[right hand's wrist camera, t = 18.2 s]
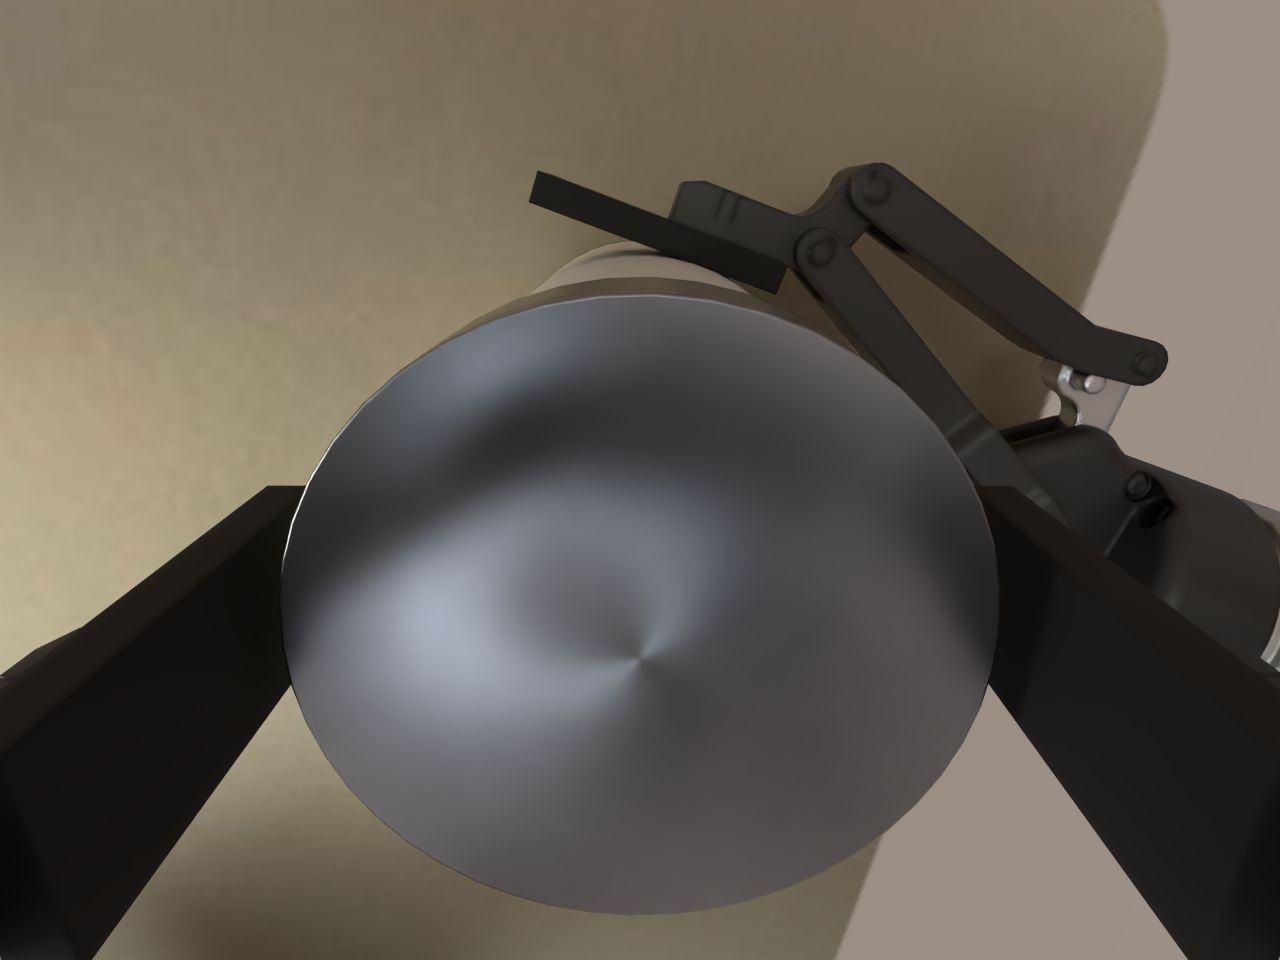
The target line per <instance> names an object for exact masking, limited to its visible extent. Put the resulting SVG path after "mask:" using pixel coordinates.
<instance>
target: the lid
mask: <svg viewBox="0 0 1280 960" xmlns="http://www.w3.org/2000/svg"><path fill="white" fill-rule="evenodd" d="M279 613H280V625H281V637H282V647H283V652H284V656H285V660H286V664H287V669H288V673H289V677H290V681H291V685H292V688H293V691H294V693H295V696H296V698H297V701H298V703H299V706H300V708H301V711H302V713H303V716H304V718H305V721H306V723H307V725H308V727H309V729H310V730H311V732H312V734H313V736H314V737H315V739H316V741H317V743H318V745H319V746H320V748H321V750H322V752H323V753H324V755H325V757H326V758H327V760H328V761H329V762H330V764H331V765H332V766H333V768H334V769H335V770H336V772H337V773H338V774H339V776H340V777H341V778H342V780H343V781H344V782H345V784H346V785H347V786H348V788H349V789H350V790H351V791H352V792H353V793H354V794H355V795H356V796H357V797H358V798H359V799H360V800H361V801H362V802H363V803H364V804H365V805H366V806H367V808H368V809H369V810H370V811H371V812H372V813H373V814H374V815H375V816H376V817H377V818H379V819H380V820H381V821H382V822H383V823H385V824H386V825H387V826H388V827H390V828H391V829H392V830H393V831H394V832H396V833H397V834H398V835H399V836H401V837H402V838H403V839H404V840H405V841H407V842H408V843H410V844H411V845H413V846H414V847H416V848H417V849H419V850H420V851H422V852H424V853H425V854H427V855H428V856H430V857H431V858H433V859H434V860H436V861H437V862H439V863H441V864H443V865H445V866H447V867H449V868H451V869H453V870H455V871H457V872H459V873H461V874H463V875H464V876H466V877H468V878H470V879H472V880H474V881H477V882H479V883H482V884H485V885H487V886H490V887H492V888H495V889H498V890H500V891H503V892H505V893H508V894H511V895H514V896H518V897H521V898H525V899H529V900H532V901H536V902H540V903H543V904H547V905H551V906H557V907H562V908H568V909H574V910H580V911H586V912H595V913H608V914H622V915H654V914H674V913H683V912H692V911H700V910H708V909H713V908H718V907H722V906H727V905H732V904H736V903H741V902H745V901H749V900H752V899H755V898H758V897H762V896H765V895H768V894H771V893H774V892H777V891H780V890H783V889H786V888H788V887H791V886H793V885H795V884H797V883H800V882H802V881H804V880H807V879H809V878H811V877H813V876H816V875H818V874H820V873H822V872H824V871H826V870H828V869H829V868H831V867H833V866H835V865H836V864H838V863H840V862H842V861H843V860H845V859H847V858H849V857H850V856H852V855H854V854H856V853H857V852H858V851H860V850H861V849H863V848H864V847H865V846H867V845H868V844H870V843H871V842H872V841H874V840H875V839H876V838H878V837H879V836H881V835H882V834H883V833H885V832H886V831H887V830H889V829H890V828H891V827H892V826H893V825H894V824H895V823H896V822H897V821H898V820H900V819H901V818H902V817H903V816H904V815H905V814H906V813H907V812H908V811H909V810H911V809H912V808H913V807H914V806H915V805H916V804H917V803H918V802H919V800H920V799H921V798H922V797H923V796H924V795H925V794H926V792H927V791H928V790H929V789H930V788H931V787H932V785H933V784H934V783H935V782H936V781H937V780H938V779H939V777H940V776H941V775H942V774H943V772H944V771H945V769H946V768H947V766H948V765H949V763H950V762H951V760H952V758H953V757H954V756H955V754H956V753H957V751H958V750H959V748H960V747H961V745H962V743H963V742H964V740H965V738H966V736H967V734H968V732H969V730H970V728H971V726H972V724H973V722H974V720H975V717H976V715H977V713H978V711H979V709H980V707H981V704H982V701H983V698H984V695H985V692H986V689H987V686H988V683H989V680H990V677H991V674H992V671H993V666H994V660H995V655H996V649H997V643H998V637H999V631H1000V580H999V573H998V566H997V559H996V552H995V545H994V541H993V538H992V535H991V531H990V528H989V525H988V522H987V518H986V515H985V512H984V508H983V505H982V502H981V500H980V498H979V496H978V494H977V492H976V490H975V488H974V486H973V484H972V482H971V480H970V478H969V476H968V474H967V471H966V469H965V467H964V465H963V463H962V461H961V460H960V459H959V457H958V456H957V454H956V453H955V451H954V450H953V449H952V447H951V446H950V444H949V443H948V441H947V440H946V439H945V437H944V436H943V434H942V433H941V431H940V430H939V429H938V427H937V426H936V424H935V423H934V422H933V421H932V420H931V419H930V418H929V417H928V416H927V415H926V414H925V412H924V411H923V410H922V409H921V408H920V407H919V406H918V405H917V404H916V403H915V402H914V401H913V400H912V399H911V398H910V397H909V396H908V395H907V394H906V393H905V391H904V390H903V389H902V388H901V387H899V386H898V385H897V384H895V383H894V382H893V381H892V380H890V379H889V378H888V377H886V376H885V375H884V374H883V373H881V372H880V371H879V370H877V369H876V368H875V367H874V366H872V365H871V364H870V363H868V362H867V361H866V360H865V359H863V358H862V357H861V356H859V355H858V354H856V353H855V352H853V351H852V350H851V349H849V348H848V347H846V346H845V345H844V344H842V343H841V342H839V341H838V340H836V339H835V338H834V337H832V336H831V335H829V334H828V333H826V332H825V331H823V330H822V329H820V328H818V327H816V326H815V325H813V324H811V323H809V322H808V321H806V320H804V319H802V318H801V317H799V316H797V315H795V314H794V313H792V312H790V311H788V310H787V309H784V308H782V307H779V306H777V305H774V304H772V303H769V302H767V301H764V300H762V299H759V298H757V297H754V296H752V295H749V294H746V293H744V292H740V291H736V290H732V289H728V288H724V287H720V286H716V285H711V284H707V283H703V282H699V281H690V280H680V279H671V278H661V277H623V278H603V279H597V280H591V281H585V282H579V283H573V284H567V285H561V286H558V287H555V288H551V289H548V290H545V291H542V292H539V293H535V294H532V295H529V296H526V297H523V298H519V299H516V300H514V301H512V302H510V303H508V304H506V305H504V306H502V307H499V308H497V309H495V310H493V311H491V312H489V313H487V314H485V315H482V316H480V317H478V318H476V319H475V320H473V321H472V322H470V323H469V324H467V325H465V326H464V327H462V328H461V329H459V330H458V331H456V332H455V333H453V334H452V335H450V336H449V337H447V338H446V339H444V340H443V341H441V342H440V343H438V344H437V345H435V346H434V347H432V348H431V349H430V350H428V351H427V352H425V353H424V354H423V355H421V356H420V357H418V358H417V359H415V360H414V361H413V362H411V363H410V364H408V365H407V366H405V367H404V368H403V369H401V370H400V371H399V372H398V373H397V374H395V375H394V376H393V377H392V378H391V379H390V380H389V381H388V382H386V383H385V384H384V385H383V386H382V387H381V388H380V389H379V390H377V391H376V392H375V393H374V394H373V395H372V396H371V397H370V398H368V399H367V400H366V401H365V402H364V403H363V404H362V405H361V406H360V407H359V409H358V410H357V411H356V412H355V413H354V415H353V416H352V417H351V418H350V419H349V421H348V422H347V423H346V424H345V425H344V427H343V428H342V429H341V430H340V431H339V433H338V434H337V435H336V436H335V438H334V439H333V440H332V441H331V443H330V445H329V446H328V448H327V450H326V451H325V453H324V455H323V456H322V458H321V460H320V461H319V463H318V465H317V466H316V468H315V470H314V471H313V473H312V475H311V476H310V478H309V480H308V482H307V485H306V487H305V489H304V492H303V494H302V497H301V499H300V502H299V504H298V507H297V509H296V512H295V514H294V517H293V519H292V522H291V526H290V531H289V535H288V539H287V544H286V548H285V552H284V557H283V561H282V570H281V584H280V598H279Z"/></svg>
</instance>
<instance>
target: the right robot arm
mask: <svg viewBox="0 0 1280 960" xmlns="http://www.w3.org/2000/svg"><path fill="white" fill-rule="evenodd" d="M305 487H306V486H267V487H265V488H264V489H263V490H261V491H260V492H259V493H257V494H256V495H255V496H253V497H252V498H251V499H249V500H248V501H247V502H246V503H244V504H243V505H242V506H240V507H239V508H238V509H236V510H235V511H234V512H232V513H231V514H230V515H228V516H227V517H226V518H225V519H223V520H222V521H221V522H219V523H218V524H217V525H215V526H214V527H213V528H211V529H210V530H209V531H208V532H206V533H205V534H204V535H202V536H201V537H200V538H198V539H197V540H196V541H194V542H193V543H192V544H190V545H189V546H188V547H187V548H185V549H184V550H183V551H181V552H180V553H179V554H177V555H176V556H175V557H173V558H172V559H171V560H169V561H168V562H167V563H166V564H164V565H163V566H162V567H160V568H159V569H158V570H156V571H155V572H154V573H152V574H151V575H150V576H148V577H147V578H146V579H145V580H143V581H142V582H141V583H139V584H138V585H137V586H135V587H134V588H133V589H131V590H130V591H129V592H127V593H126V594H125V595H124V596H122V597H121V598H120V599H118V600H117V601H116V602H114V603H113V604H112V605H110V606H109V607H108V608H107V609H105V610H104V611H103V612H101V613H100V614H99V615H97V616H96V617H95V618H93V619H92V620H91V621H89V622H88V623H87V624H86V625H84V626H83V627H82V628H78V629H76V630H74V631H72V632H70V633H68V634H66V635H64V636H62V637H60V638H58V639H56V640H54V641H52V642H50V643H48V644H46V645H44V646H41V647H39V648H37V649H35V650H34V651H33V652H31V653H30V654H28V655H27V656H26V657H24V658H23V659H22V660H20V661H19V662H18V663H16V664H15V665H14V666H12V667H11V668H10V669H8V670H7V671H5V672H4V673H3V674H1V675H0V957H1V959H2V960H92V959H93V957H94V956H95V955H96V953H97V952H98V951H99V949H100V948H101V946H102V945H103V944H104V942H105V941H106V939H107V938H108V937H109V935H110V934H111V933H112V931H113V930H114V928H115V927H116V926H117V924H118V923H119V921H120V920H121V919H122V917H123V916H124V915H125V913H126V912H127V910H128V909H129V908H130V906H131V905H132V903H133V902H134V901H135V899H136V898H137V897H138V895H139V894H140V892H141V891H142V890H143V888H144V887H145V886H146V884H147V883H148V881H149V880H150V879H151V877H152V876H153V874H154V873H155V872H156V870H157V869H158V868H159V866H160V865H161V863H162V862H163V861H164V859H165V858H166V856H167V855H168V854H169V852H170V851H171V850H172V848H173V847H174V845H175V844H176V843H177V841H178V840H179V839H180V837H181V836H182V834H183V833H184V832H185V830H186V829H187V827H188V826H189V825H190V823H191V822H192V821H193V819H194V818H195V816H196V815H197V814H198V812H199V811H200V809H201V808H202V807H203V805H204V804H205V803H206V801H207V800H208V798H209V797H210V796H211V794H212V793H213V791H214V790H215V789H216V787H217V786H218V785H219V783H220V782H221V780H222V779H223V778H224V776H225V775H226V774H227V772H228V771H229V769H230V768H231V767H232V765H233V764H234V762H235V761H236V760H237V758H238V757H239V756H240V754H241V753H242V751H243V750H244V749H245V747H246V746H247V744H248V743H249V742H250V740H251V739H252V738H253V736H254V735H255V733H256V732H257V731H258V729H259V728H260V727H261V725H262V724H263V722H264V721H265V720H266V718H267V717H268V715H269V714H270V713H271V711H272V710H273V709H274V707H275V706H276V704H277V703H278V702H279V700H280V699H281V697H282V696H283V695H284V693H285V692H286V691H287V689H288V688H289V686H290V685H291V681H290V677H289V673H288V669H287V664H286V660H285V656H284V652H283V647H282V637H281V625H280V613H279V598H280V584H281V570H282V561H283V557H284V552H285V548H286V544H287V539H288V535H289V531H290V526H291V522H292V519H293V517H294V514H295V512H296V509H297V507H298V504H299V502H300V499H301V497H302V494H303V492H304V489H305ZM974 488H975V490H976V492H977V494H978V496H979V498H980V500H981V502H982V505H983V508H984V512H985V515H986V518H987V522H988V525H989V528H990V531H991V535H992V538H993V541H994V545H995V552H996V559H997V566H998V573H999V580H1000V631H999V637H998V643H997V649H996V655H995V660H994V666H993V671H992V674H991V677H990V680H989V683H988V684H989V685H990V686H991V688H992V689H993V691H994V692H995V693H996V695H997V696H998V697H999V699H1000V700H1001V702H1002V703H1003V704H1004V706H1005V707H1006V709H1007V710H1008V711H1009V713H1010V714H1011V715H1012V717H1013V718H1014V720H1015V721H1016V722H1017V724H1018V725H1019V727H1020V728H1021V729H1022V731H1023V732H1024V733H1025V735H1026V736H1027V738H1028V739H1029V740H1030V742H1031V743H1032V744H1033V746H1034V747H1035V749H1036V750H1037V751H1038V753H1039V754H1040V756H1041V757H1042V758H1043V760H1044V761H1045V762H1046V764H1047V765H1048V767H1049V768H1050V769H1051V771H1052V772H1053V774H1054V775H1055V776H1056V778H1057V779H1058V780H1059V782H1060V783H1061V784H1062V786H1063V787H1064V789H1065V790H1066V791H1067V793H1068V794H1069V795H1070V797H1071V798H1072V800H1073V801H1074V803H1075V804H1076V805H1077V807H1078V808H1079V809H1080V811H1081V812H1082V814H1083V815H1084V816H1085V818H1086V819H1087V821H1088V822H1089V823H1090V825H1091V826H1092V827H1093V829H1094V830H1095V832H1096V833H1097V834H1098V836H1099V837H1100V838H1101V840H1102V841H1103V843H1104V844H1105V845H1106V847H1107V848H1108V850H1109V851H1110V852H1111V854H1112V855H1113V856H1114V858H1115V859H1116V861H1117V862H1118V863H1119V865H1120V866H1121V867H1122V869H1123V870H1124V872H1125V873H1126V874H1127V876H1128V877H1129V879H1130V880H1131V881H1132V883H1133V884H1134V886H1135V887H1136V888H1137V890H1138V891H1139V892H1140V894H1141V895H1142V897H1143V898H1144V899H1145V901H1146V902H1147V903H1148V905H1149V906H1150V908H1151V909H1152V910H1153V912H1154V913H1155V915H1156V916H1157V917H1158V919H1159V920H1160V921H1161V923H1162V924H1163V926H1164V927H1165V928H1166V930H1167V931H1168V933H1169V934H1170V935H1171V937H1172V938H1173V939H1174V941H1175V942H1176V943H1177V945H1178V946H1179V948H1180V949H1181V950H1182V952H1183V953H1184V955H1185V956H1186V957H1187V959H1188V960H1278V959H1279V957H1280V672H1279V671H1278V670H1277V669H1275V668H1274V667H1273V666H1271V665H1270V664H1269V663H1267V662H1266V661H1264V660H1263V659H1262V658H1260V657H1259V656H1258V655H1256V654H1255V653H1254V652H1252V651H1251V650H1249V649H1248V648H1247V647H1245V646H1243V645H1241V644H1239V643H1237V642H1235V641H1233V640H1231V639H1229V638H1227V637H1224V636H1222V635H1220V634H1218V633H1216V632H1214V631H1212V630H1210V629H1208V628H1206V627H1204V626H1202V625H1194V624H1193V623H1192V622H1191V621H1189V620H1188V619H1187V618H1185V617H1184V616H1183V615H1181V614H1180V613H1179V612H1177V611H1176V610H1175V609H1173V608H1172V607H1171V606H1170V605H1168V604H1167V603H1166V602H1164V601H1163V600H1162V599H1160V598H1159V597H1158V596H1156V595H1155V594H1154V593H1153V592H1151V591H1150V590H1149V589H1147V588H1146V587H1145V586H1143V585H1142V584H1141V583H1139V582H1138V581H1137V580H1135V579H1134V578H1133V577H1132V576H1130V575H1129V574H1128V573H1126V572H1125V571H1124V570H1122V569H1121V568H1120V567H1118V566H1117V565H1116V564H1114V563H1113V562H1112V561H1111V560H1109V559H1108V558H1107V557H1105V556H1104V555H1103V554H1101V553H1100V552H1099V551H1097V550H1096V549H1095V548H1093V547H1092V546H1091V545H1090V544H1088V543H1087V542H1086V541H1084V540H1083V539H1082V538H1080V537H1079V536H1078V535H1076V534H1075V533H1074V532H1072V531H1071V530H1070V529H1069V528H1067V527H1066V526H1065V525H1063V524H1062V523H1061V522H1059V521H1058V520H1057V519H1055V518H1054V517H1053V516H1052V515H1050V514H1049V513H1048V512H1046V511H1045V510H1044V509H1042V508H1041V507H1040V506H1038V505H1037V504H1036V503H1034V502H1033V501H1032V500H1031V499H1029V498H1028V497H1027V496H1025V495H1024V494H1023V493H1021V492H1020V491H1019V490H1017V489H1016V488H1015V487H1013V486H974Z"/></svg>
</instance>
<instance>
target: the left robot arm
mask: <svg viewBox="0 0 1280 960" xmlns="http://www.w3.org/2000/svg"><path fill="white" fill-rule="evenodd" d="M529 202H530V203H532V204H535V205H538V206H540V207H543V208H546V209H548V210H551V211H554V212H556V213H559V214H562V215H564V216H567V217H570V218H572V219H575V220H578V221H580V222H583V223H586V224H588V225H591V226H594V227H596V228H599V229H602V230H604V231H607V232H610V233H612V234H615V235H618V236H620V237H623V238H626V239H628V240H631V241H634V242H636V243H639V244H642V245H644V246H647V247H650V248H652V249H655V250H658V251H661V252H663V253H666V254H669V255H671V256H674V257H677V258H679V259H682V260H685V261H687V262H690V263H693V264H695V265H698V266H701V267H703V268H706V269H709V270H711V271H714V272H717V273H719V274H722V275H725V276H727V277H730V278H733V279H735V280H738V281H741V282H743V283H746V284H749V285H751V286H754V287H757V288H759V289H762V290H765V291H767V292H770V293H773V294H775V295H776V294H777V291H778V289H779V287H780V284H781V282H782V279H783V277H784V274H785V272H786V270H787V267H788V268H789V269H790V270H791V271H792V273H793V274H794V275H795V276H796V277H797V279H798V280H799V281H800V282H801V284H802V285H803V286H804V287H805V288H806V290H807V291H808V292H809V293H810V294H811V296H812V297H813V298H814V299H815V301H816V302H817V303H818V304H819V305H820V307H821V308H822V309H823V310H824V312H825V313H826V314H827V315H828V316H829V318H830V319H831V320H832V321H833V322H834V324H835V325H836V326H837V327H838V329H839V330H840V331H841V332H842V333H843V335H844V336H845V337H846V338H847V339H848V341H849V342H850V343H851V344H852V346H853V347H854V348H855V349H856V350H857V352H858V353H859V354H860V355H861V356H862V358H863V359H865V360H866V361H867V362H868V363H870V364H871V365H872V366H874V367H875V368H876V369H877V370H879V371H880V372H881V373H883V374H884V375H885V376H886V377H888V378H889V379H890V380H892V381H893V382H894V383H895V384H897V385H898V386H899V387H901V388H902V389H903V390H904V391H905V393H906V394H907V395H908V396H909V397H910V398H911V399H912V400H913V401H914V402H915V403H916V404H917V405H918V406H919V407H920V408H921V409H922V410H923V411H924V412H925V414H926V415H927V416H928V417H929V418H930V419H931V420H932V421H933V422H934V423H935V424H936V426H937V427H938V429H939V430H940V431H941V433H942V434H943V436H944V437H945V439H946V440H947V441H948V443H949V444H950V446H951V447H952V449H953V450H954V451H955V453H956V454H957V456H958V457H959V459H960V460H961V461H962V463H963V465H964V467H965V469H966V471H967V474H968V476H969V478H970V480H971V482H972V484H973V486H1013V487H1015V488H1016V489H1017V490H1019V491H1020V492H1021V493H1023V494H1024V495H1025V496H1027V497H1028V498H1029V499H1031V500H1032V501H1033V502H1034V503H1036V504H1037V505H1038V506H1040V507H1041V508H1042V509H1044V510H1045V511H1046V512H1048V513H1049V514H1050V515H1052V516H1053V517H1054V518H1055V519H1057V520H1058V521H1059V522H1061V523H1062V524H1063V525H1065V526H1066V527H1067V528H1069V529H1070V530H1071V531H1072V532H1074V533H1075V534H1076V535H1078V536H1079V537H1080V538H1082V539H1083V540H1084V541H1086V542H1087V543H1088V544H1090V545H1091V546H1092V547H1093V548H1095V549H1096V550H1097V551H1099V552H1100V553H1101V554H1103V555H1104V556H1105V557H1107V558H1108V559H1109V560H1111V561H1112V562H1113V563H1114V564H1116V565H1117V566H1118V567H1120V568H1121V569H1122V570H1124V571H1125V572H1126V573H1128V574H1129V575H1130V576H1132V577H1133V578H1134V579H1135V580H1137V581H1138V582H1139V583H1141V584H1142V585H1143V586H1145V587H1146V588H1147V589H1149V590H1150V591H1151V592H1153V593H1154V594H1155V595H1156V596H1158V597H1159V598H1160V599H1162V600H1163V601H1164V602H1166V603H1167V604H1168V605H1170V606H1171V607H1172V608H1173V609H1175V610H1176V611H1177V612H1179V613H1180V614H1181V615H1183V616H1184V617H1185V618H1187V619H1188V620H1189V621H1191V622H1192V623H1193V624H1194V625H1202V626H1204V627H1206V628H1208V629H1210V630H1212V631H1214V632H1216V633H1218V634H1220V635H1222V636H1224V637H1227V638H1229V639H1231V640H1233V641H1235V642H1237V643H1239V644H1241V645H1243V646H1245V647H1247V648H1248V649H1249V650H1251V651H1252V652H1254V653H1255V654H1256V655H1258V656H1259V657H1260V658H1262V659H1263V660H1264V661H1266V662H1267V663H1269V664H1270V665H1271V666H1273V667H1274V668H1275V669H1277V670H1278V671H1279V672H1280V512H1278V511H1276V510H1273V509H1270V508H1268V507H1265V506H1262V505H1259V504H1256V503H1253V502H1250V501H1247V500H1244V499H1238V498H1237V497H1235V496H1233V495H1232V494H1230V493H1227V492H1225V491H1222V490H1220V489H1217V488H1214V487H1212V486H1209V485H1206V484H1203V483H1201V482H1198V481H1195V480H1192V479H1190V478H1187V477H1184V476H1182V475H1179V474H1176V473H1174V472H1171V471H1168V470H1165V469H1163V468H1160V467H1157V466H1155V465H1152V464H1149V463H1146V462H1144V461H1141V460H1138V459H1136V458H1133V457H1130V456H1127V455H1125V454H1124V453H1123V452H1122V451H1121V449H1120V448H1119V446H1118V445H1117V443H1116V441H1115V440H1114V439H1113V438H1112V437H1111V436H1110V435H1109V434H1108V431H1109V429H1110V427H1111V425H1112V423H1113V421H1114V419H1115V416H1116V414H1117V412H1118V410H1119V408H1120V406H1121V404H1122V402H1123V400H1124V398H1125V396H1126V394H1127V392H1128V390H1129V388H1130V386H1131V385H1134V386H1144V385H1147V384H1150V383H1152V382H1154V381H1155V380H1156V379H1158V378H1159V377H1160V376H1161V375H1162V373H1163V372H1164V371H1165V369H1166V366H1167V363H1168V354H1167V351H1166V349H1165V348H1164V346H1163V345H1161V344H1160V343H1158V342H1156V341H1152V340H1148V339H1145V338H1141V337H1137V336H1134V335H1130V334H1126V333H1122V332H1119V331H1115V330H1111V329H1108V328H1104V327H1100V326H1096V325H1094V324H1093V323H1092V322H1090V321H1089V320H1088V319H1086V318H1085V317H1084V316H1083V315H1081V314H1080V313H1079V312H1078V311H1076V310H1075V309H1074V308H1072V307H1071V306H1070V305H1069V304H1067V303H1066V302H1065V301H1063V300H1062V299H1061V298H1060V297H1058V296H1057V295H1056V294H1055V293H1053V292H1052V291H1051V290H1049V289H1048V288H1047V287H1046V286H1044V285H1043V284H1042V283H1040V282H1039V281H1038V280H1037V279H1035V278H1034V277H1033V276H1031V275H1030V274H1029V273H1028V272H1026V271H1025V270H1024V269H1023V268H1021V267H1020V266H1019V265H1017V264H1016V263H1015V262H1014V261H1012V260H1011V259H1010V258H1008V257H1007V256H1006V255H1005V254H1003V253H1002V252H1001V251H1000V250H998V249H997V248H996V247H994V246H993V245H992V244H991V243H989V242H988V241H987V240H985V239H984V238H983V237H982V236H980V235H979V234H978V233H977V232H975V231H974V230H973V229H971V228H970V227H969V226H968V225H966V224H965V223H964V222H962V221H961V220H960V219H959V218H957V217H956V216H955V215H954V214H952V213H951V212H950V211H948V210H947V209H946V208H945V207H943V206H942V205H941V204H939V203H938V202H937V201H936V200H934V199H933V198H932V197H931V196H929V195H928V194H927V193H925V192H924V191H923V190H922V189H920V188H919V187H918V186H916V185H915V184H914V183H913V182H911V181H910V180H909V179H908V178H906V177H905V176H904V175H902V174H901V173H900V172H899V171H897V170H896V169H895V168H893V167H892V166H890V165H887V164H885V163H871V164H865V165H859V166H853V167H847V168H845V169H843V170H841V171H839V172H838V173H837V174H836V175H835V176H834V177H833V178H832V180H831V182H830V185H829V187H828V188H827V190H826V191H825V192H824V193H823V194H822V196H821V197H820V198H819V199H818V200H817V201H816V203H815V204H814V205H813V206H812V207H810V208H809V209H808V210H806V211H805V212H803V213H800V214H797V215H792V214H789V213H786V212H784V211H781V210H778V209H776V208H773V207H771V206H768V205H766V204H763V203H761V202H758V201H755V200H753V199H750V198H748V197H745V196H742V195H740V194H737V193H735V192H732V191H730V190H727V189H725V188H722V187H719V186H717V185H714V184H712V183H709V182H707V181H687V182H681V183H680V185H679V187H678V190H677V193H676V196H675V199H674V202H673V205H672V208H671V210H670V213H669V216H668V219H667V218H664V217H661V216H659V215H656V214H653V213H651V212H648V211H645V210H643V209H640V208H638V207H635V206H632V205H630V204H627V203H624V202H622V201H619V200H617V199H614V198H611V197H609V196H606V195H603V194H601V193H598V192H596V191H593V190H590V189H588V188H585V187H582V186H580V185H577V184H574V183H572V182H569V181H567V180H564V179H561V178H559V177H556V176H553V175H551V174H548V173H544V172H541V171H537V175H536V178H535V182H534V185H533V189H532V192H531V196H530V199H529ZM864 232H865V233H867V234H868V235H869V236H871V237H872V238H873V239H875V240H876V241H877V242H879V243H880V244H881V245H883V246H884V247H885V248H887V249H888V250H889V251H891V252H892V253H893V254H895V255H896V256H897V257H899V258H900V259H901V260H903V261H904V262H905V263H907V264H908V265H909V266H911V267H912V268H913V269H915V270H916V271H917V272H919V273H920V274H921V275H923V276H924V277H925V278H927V279H928V280H929V281H931V282H932V283H933V284H935V285H936V286H937V287H939V288H940V289H941V290H943V291H944V292H945V293H947V294H948V295H949V296H951V297H952V298H953V299H955V300H956V301H957V302H959V303H960V304H961V305H962V306H964V307H965V308H966V309H968V310H969V311H970V312H972V313H973V314H974V315H976V316H977V317H978V318H980V319H981V320H982V321H984V322H985V323H986V324H988V325H989V326H990V327H992V328H993V329H994V330H996V331H997V332H998V333H1000V334H1001V335H1002V336H1004V337H1005V338H1006V339H1008V340H1009V341H1011V342H1013V343H1014V344H1016V345H1017V346H1019V347H1021V348H1023V349H1025V350H1027V351H1029V352H1031V353H1034V354H1036V355H1039V356H1042V357H1044V359H1043V360H1042V361H1041V363H1040V367H1039V368H1040V372H1041V378H1042V381H1043V383H1044V385H1045V386H1046V387H1047V388H1049V389H1051V390H1052V391H1054V392H1055V393H1056V394H1057V395H1058V396H1059V397H1060V400H1061V411H1060V414H1059V415H1057V416H1051V417H1047V418H1043V419H1040V420H1036V421H1032V422H1028V423H1025V424H1021V425H1017V426H1014V427H1010V428H1006V429H1002V430H999V431H997V430H996V428H995V427H994V426H993V425H992V424H991V423H990V422H989V421H988V420H987V419H986V418H985V417H984V416H982V415H981V414H980V413H979V411H978V410H977V409H976V408H975V407H974V405H973V404H972V403H971V402H970V400H969V399H968V398H967V397H966V395H965V394H964V393H963V391H962V390H961V389H960V388H959V386H958V385H957V384H956V383H955V381H954V380H953V379H952V377H951V376H950V375H949V374H948V372H947V371H946V370H945V369H944V367H943V366H942V365H941V363H940V362H939V361H938V360H937V358H936V357H935V356H934V355H933V353H932V352H931V351H930V350H929V348H928V347H927V346H926V344H925V343H924V342H923V341H922V339H921V338H920V337H919V336H918V334H917V333H916V332H915V330H914V329H913V328H912V327H911V325H910V324H909V323H908V322H907V320H906V319H905V318H904V316H903V315H902V314H901V313H900V311H899V310H898V309H897V308H896V306H895V305H894V304H893V302H892V301H891V300H890V299H889V297H888V296H887V295H886V294H885V292H884V291H883V290H882V289H881V287H880V286H879V285H878V283H877V282H876V281H875V280H874V278H873V277H872V276H871V275H870V273H869V272H868V271H867V269H866V268H865V267H864V266H863V264H862V263H861V262H860V261H859V259H858V258H857V257H856V255H855V254H854V253H853V252H852V250H851V249H850V248H851V246H852V245H853V244H854V243H855V242H856V241H857V240H858V239H859V237H860V236H861V235H862V234H863V233H864Z"/></svg>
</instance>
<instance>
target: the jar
mask: <svg viewBox="0 0 1280 960" xmlns="http://www.w3.org/2000/svg"><path fill="white" fill-rule="evenodd" d="M623 277H661V278H671V279H680V280H690V281H699V282H703V283H707V284H711V285H716V286H720V287H724V288H728V289H732V290H736V291H740V292H744V293H746V294H749V293H748V292H747V291H746V290H745V289H743V288H742V287H741V286H740V285H739V284H737V283H736V282H735V281H734V280H733V279H731V278H730V277H727V276H725V275H722V274H719V273H717V272H714V271H711V270H709V269H706V268H703V267H701V266H698V265H695V264H693V263H690V262H687V261H685V260H682V259H679V258H677V257H674V256H671V255H669V254H666V253H663V252H661V251H658V250H655V249H652V248H650V247H647V246H644V245H642V244H639V243H636V242H634V241H625V242H620V243H614V244H609V245H606V246H602V247H599V248H596V249H593V250H591V251H589V252H587V253H585V254H583V255H580V256H578V257H576V258H575V259H573V260H572V261H570V262H569V263H567V264H566V265H564V266H563V267H562V268H560V269H559V270H558V271H557V272H556V273H554V274H553V275H552V276H551V277H550V278H548V279H547V280H546V281H545V282H544V283H543V284H541V285H540V286H539V287H538V288H537V289H535V290H534V291H533V292H532V293H531V294H529V295H532V294H535V293H539V292H542V291H545V290H548V289H551V288H555V287H558V286H561V285H567V284H573V283H579V282H585V281H591V280H597V279H603V278H623ZM529 295H528V296H529ZM749 295H751V294H749Z"/></svg>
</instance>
